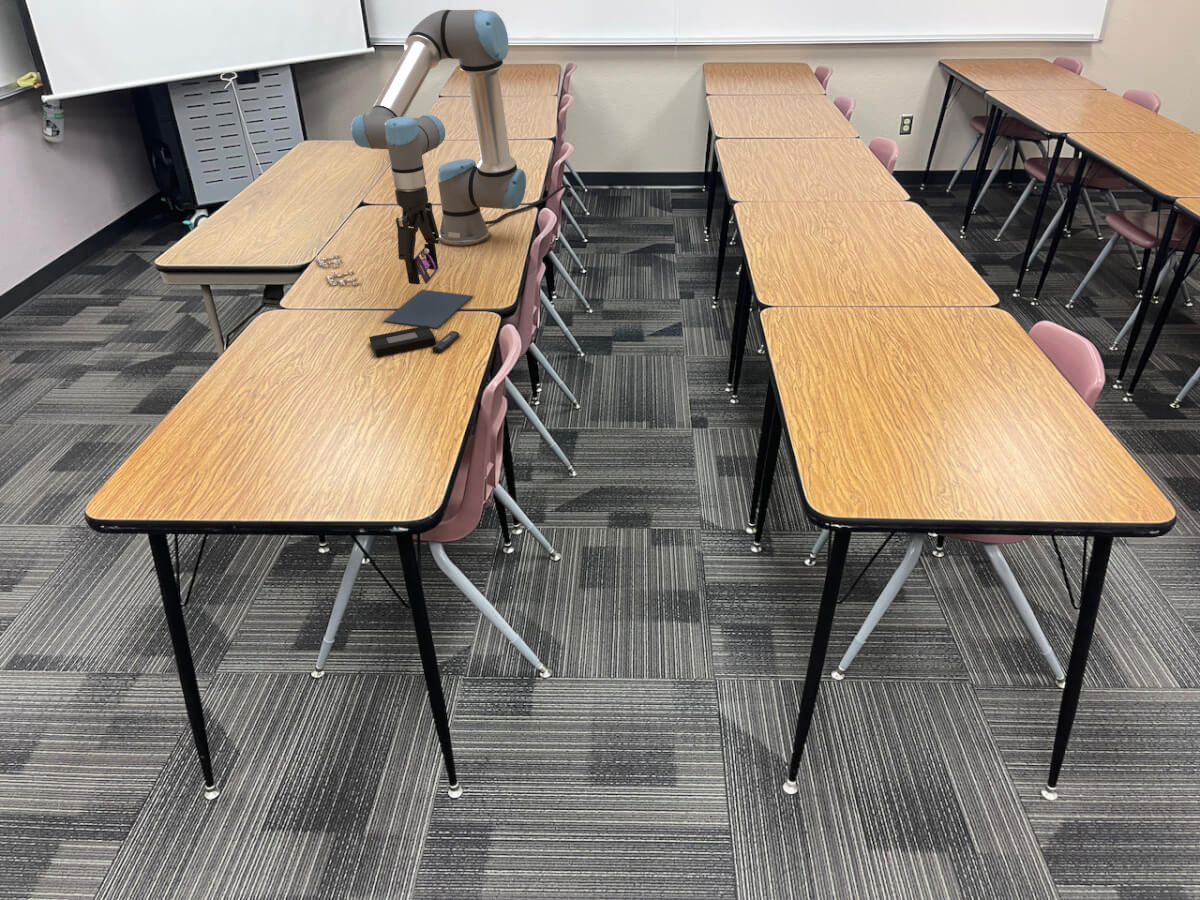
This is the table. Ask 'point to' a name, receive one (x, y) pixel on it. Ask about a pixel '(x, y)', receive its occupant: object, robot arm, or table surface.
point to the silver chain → (334, 271)
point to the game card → (424, 265)
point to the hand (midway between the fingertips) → (423, 275)
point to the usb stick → (445, 341)
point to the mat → (428, 309)
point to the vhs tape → (402, 341)
